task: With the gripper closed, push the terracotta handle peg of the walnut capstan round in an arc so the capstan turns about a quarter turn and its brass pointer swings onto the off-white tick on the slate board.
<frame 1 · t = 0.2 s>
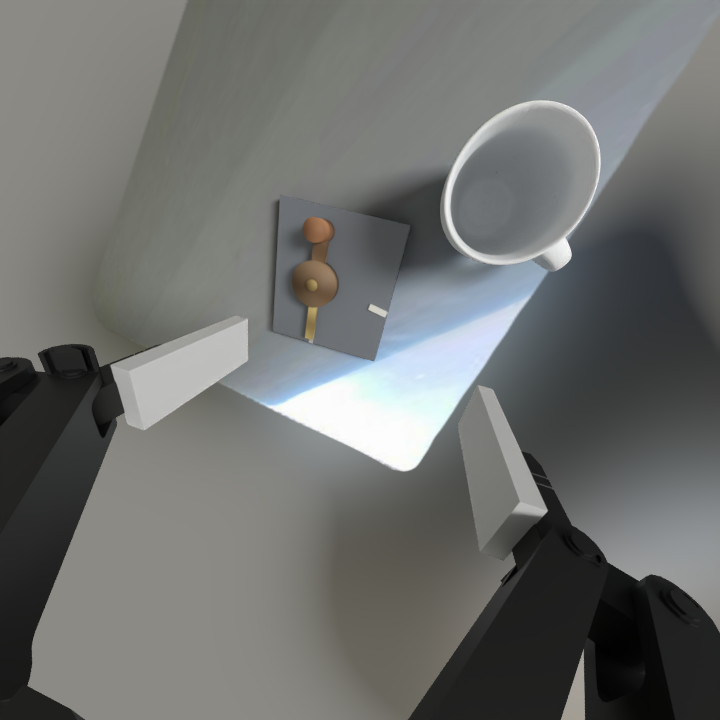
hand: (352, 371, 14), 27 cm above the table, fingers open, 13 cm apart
board: (335, 283, 39), on the table
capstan: (312, 286, 36), point 4 cm above the table, hinge at 0.0°
mug: (488, 215, 32), on the table
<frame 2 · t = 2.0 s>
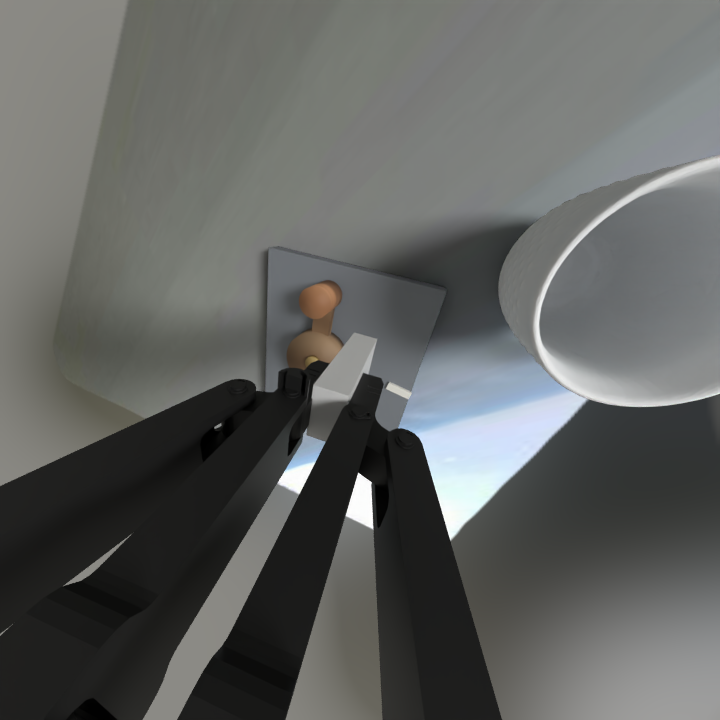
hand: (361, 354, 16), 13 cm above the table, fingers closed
board: (343, 351, 31), on the table
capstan: (313, 363, 27), point 4 cm above the table, hinge at 0.0°
mug: (556, 278, 23), on the table
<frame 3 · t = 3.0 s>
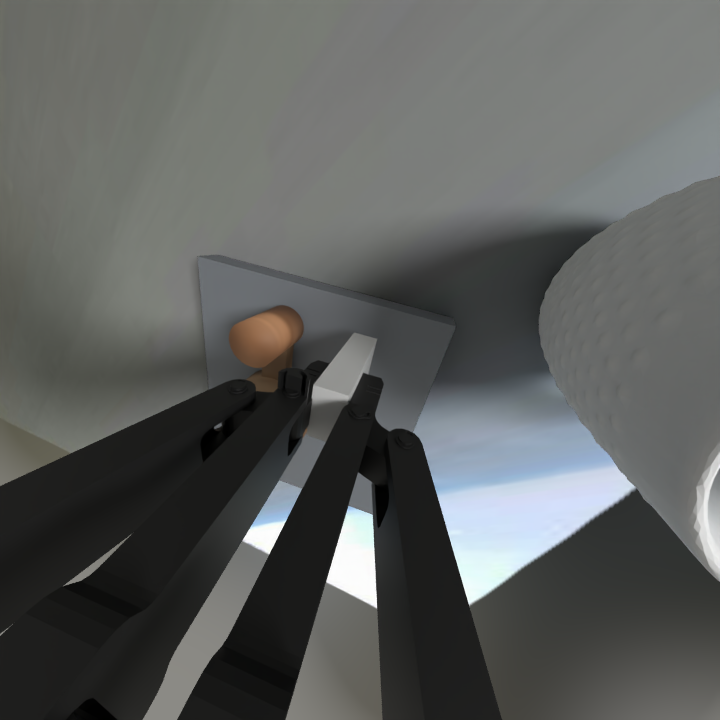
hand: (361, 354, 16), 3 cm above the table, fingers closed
board: (312, 395, 23), on the table
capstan: (265, 419, 19), point 4 cm above the table, hinge at 0.0°
mug: (621, 309, 15), on the table
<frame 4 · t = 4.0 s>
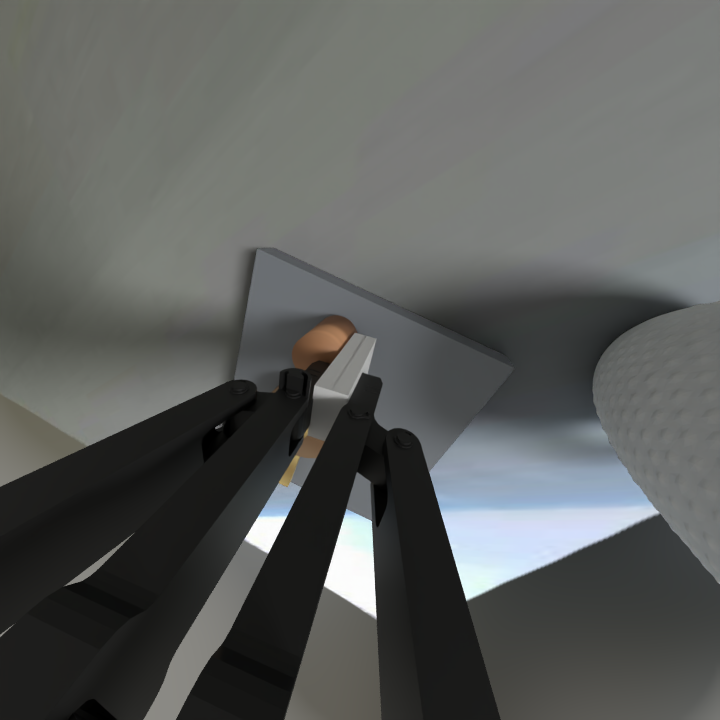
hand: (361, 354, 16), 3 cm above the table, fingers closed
board: (341, 403, 23), on the table
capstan: (299, 427, 19), point 4 cm above the table, hinge at 1.1°, touching gripper
mug: (662, 375, 16), on the table
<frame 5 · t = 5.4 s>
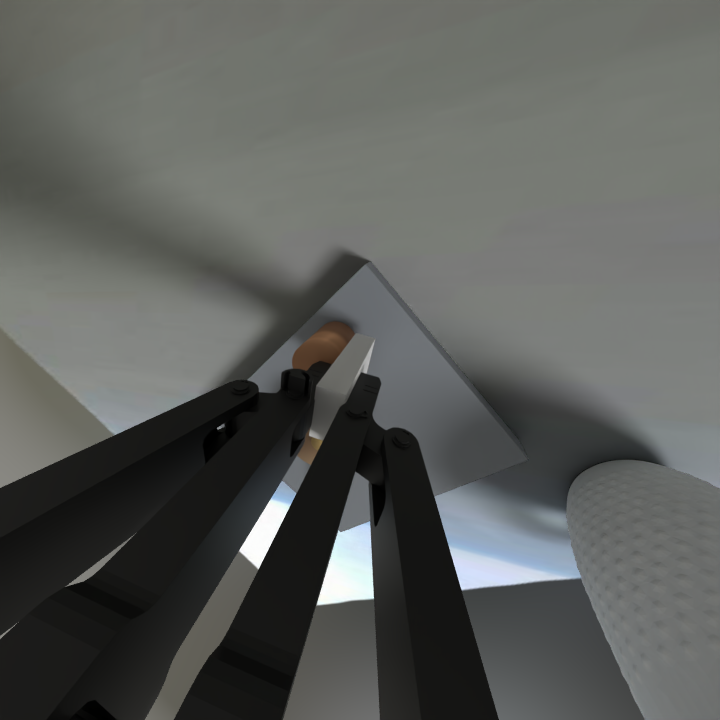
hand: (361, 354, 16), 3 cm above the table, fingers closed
board: (355, 420, 23), on the table
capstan: (323, 440, 19), point 4 cm above the table, hinge at 41.4°, touching gripper
mug: (614, 496, 21), on the table
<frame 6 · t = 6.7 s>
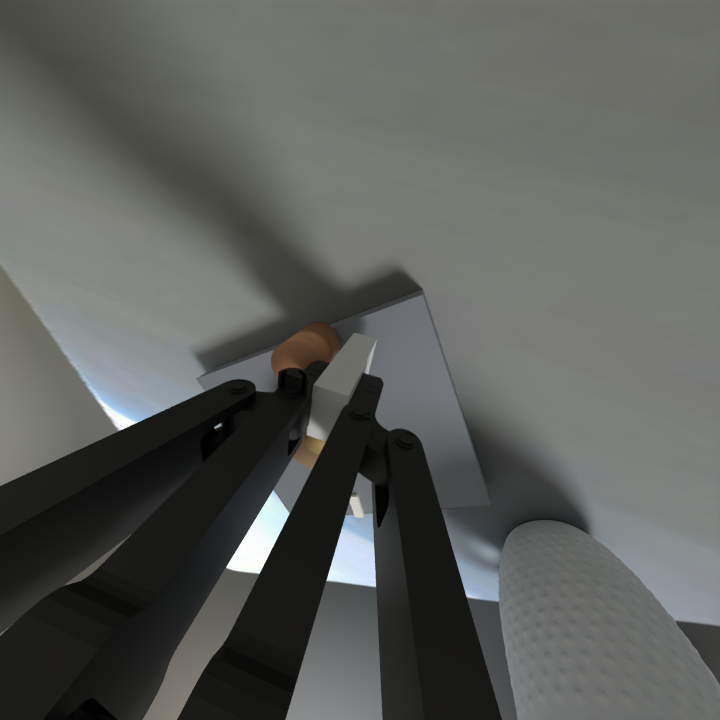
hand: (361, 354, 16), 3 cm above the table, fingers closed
board: (345, 424, 23), on the table
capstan: (318, 442, 19), point 4 cm above the table, hinge at 67.6°
mug: (541, 546, 24), on the table
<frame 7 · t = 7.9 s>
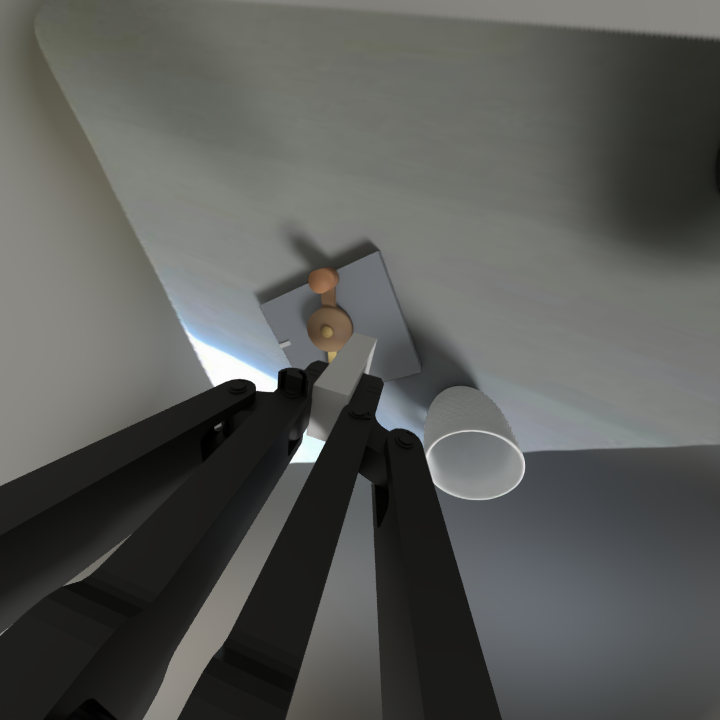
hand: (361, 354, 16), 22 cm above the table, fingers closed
board: (342, 334, 40), on the table
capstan: (328, 332, 36), point 4 cm above the table, hinge at 67.6°
mug: (457, 408, 41), on the table
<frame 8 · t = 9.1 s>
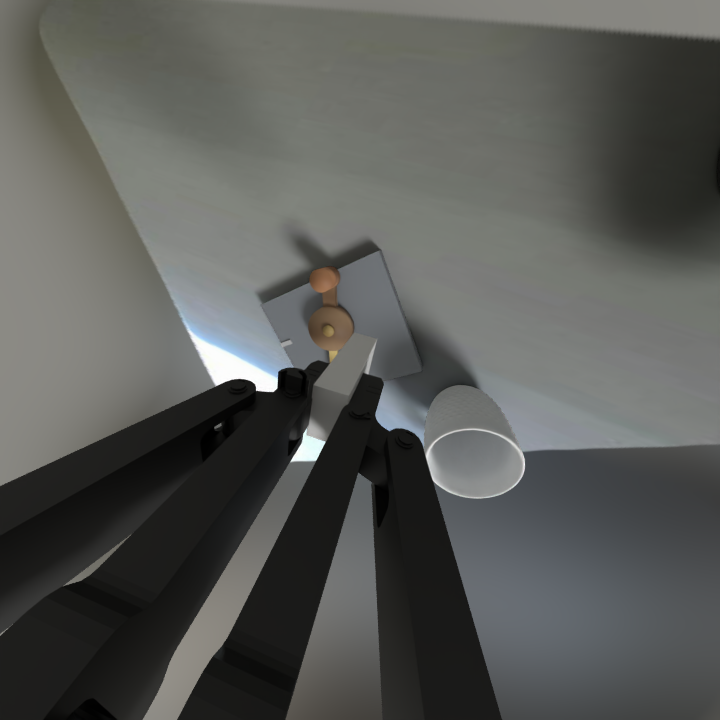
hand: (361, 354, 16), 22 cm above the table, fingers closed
board: (343, 333, 40), on the table
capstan: (329, 331, 36), point 4 cm above the table, hinge at 67.6°
mug: (457, 407, 42), on the table
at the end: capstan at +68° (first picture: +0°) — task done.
